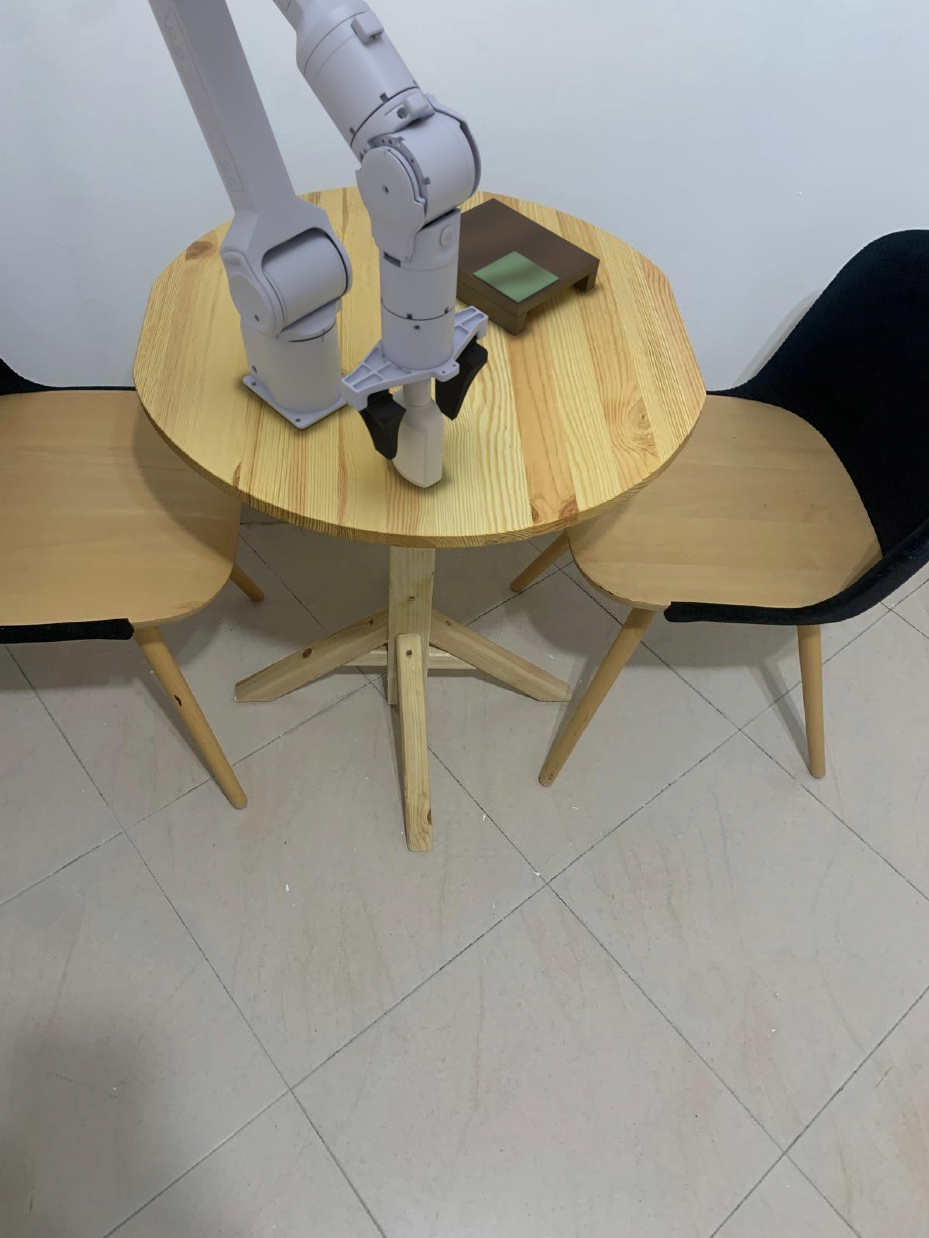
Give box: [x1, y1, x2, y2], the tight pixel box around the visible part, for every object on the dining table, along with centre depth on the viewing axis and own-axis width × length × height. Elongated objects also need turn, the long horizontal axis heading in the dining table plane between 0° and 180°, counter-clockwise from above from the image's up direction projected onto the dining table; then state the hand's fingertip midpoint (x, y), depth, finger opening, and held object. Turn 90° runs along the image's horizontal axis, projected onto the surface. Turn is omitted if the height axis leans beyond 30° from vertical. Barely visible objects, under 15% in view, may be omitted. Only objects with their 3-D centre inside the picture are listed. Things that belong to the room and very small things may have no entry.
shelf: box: [456, 197, 601, 336], centre depth 90 cm, size 17×14×4 cm
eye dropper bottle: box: [391, 378, 445, 488], centre depth 68 cm, size 4×6×12 cm
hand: (416, 432), depth 70 cm, fingers open, 7 cm apart
